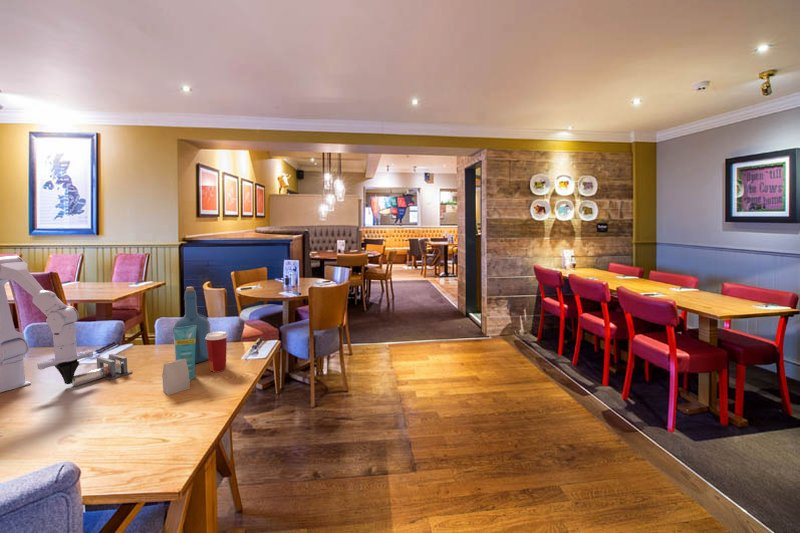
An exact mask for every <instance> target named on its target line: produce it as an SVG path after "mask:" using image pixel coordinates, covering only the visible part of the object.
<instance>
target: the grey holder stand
mask: <svg viewBox="0 0 800 533" xmlns="http://www.w3.org/2000/svg"><path fill="white" fill-rule="evenodd" d="M95 359H96V368H97V369H100V368H103V367H105V365H104V364H106V365H107V366H108V370H109V376H107V377H104V379H105V380H107V381H111V380H112V381H113V380H114V379H115V380H116V379H119V378H121V377H122V376H121V375H118V374H116V372H115V361H113V360H110V359H109V358H106V357H103V356H98V357H96V358H95Z"/></svg>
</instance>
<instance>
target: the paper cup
mask: <svg viewBox="0 0 800 533" xmlns="http://www.w3.org/2000/svg"><path fill="white" fill-rule="evenodd" d="M228 336H229V335H228V334H227V331H221V330H220V331H213V332H211V331H210V333H208V334H207V335H206V337H205V339H206V342H207V351H208V366H209V371H210V372H211V371H213V372H212V373H218V372H217V371H220V372H223V371H225V370H226V369H227V368H226V367H227V346H228V344H227V343H228V342H227V339H228ZM225 368H226V369H225ZM224 369H225V370H224ZM222 370H223V371H222Z"/></svg>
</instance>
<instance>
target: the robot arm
mask: <svg viewBox="0 0 800 533" xmlns="http://www.w3.org/2000/svg"><path fill="white" fill-rule="evenodd" d="M28 266H29V265H28V263H27V262H25V261H24V259H23V258H22V257H20V256H18V255H10V256H0V393H3V392H7V391H10V390H11V391H12V390H14V389H18V388H21V387H24V386H29V385H31V384H32V382H30V381H29V380H26V374H25V373H26V371H25V362H24V361H25V360H24V358H26V354H27V353H29V350H30V344H29V342H28V340H26V337H25V334H24V333H22V332H19V331H18V330H16V328H15V325H14V321H13V316H12V313H11V312H12V311H11V308H10V304H9V299H8V294H7V291H6V287H5V285H6V284H7V283H8V282H9V281H14V282H15V283H16V284H17V285H19V286H20V287H21V288H22V289H23V290H25V291H26V292H27V293H28V294H29V295H30V296H32V300H31V301H32V302H31V303H33V304H34V305H35V306H36V308H38V309H39V310H40V311H41V313H43V314H44V315H45V316H46V317H47V318H46V319H45V321H46V325H48V326H49V328H50V332H51V333H52V339H53V340H52V342H53V351H54V353H53V354H54V357H53V358H50V359H47V360H43V361H40V362H37V363H36V364H37V370H40V371H43V370H45V369H47V368H50V367H55V369H56V370H57V371H58V373H60V375H61V377H62V379H63V382H64V384H65V385H72V381H73V376H75V372H76V371H77V368H78V367H79V365H80V361H79V360H82V359H86V358H93V357H94V352H93V350H85V351H79V352H78V348H77V346H78V345H77V336H76V324H75V323H76V322H78V320H79V318H80V316H79V314H80V313H79V312H78V310H77V309H76V308H75V306H69V305H68V304H65V303H64V302H63V301H62V300H61V299H60V298H58V296H57V293H55V292H53V291H52V290H45V288H43V287H42V285H41V284H40V283H39V282H38V281H37V279H36V278H35V276H33V274H31V272H30V271H29V270H28Z"/></svg>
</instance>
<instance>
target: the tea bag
mask: <svg viewBox="0 0 800 533" xmlns="http://www.w3.org/2000/svg"><path fill="white" fill-rule="evenodd" d="M162 369H163V370H162V391H163V393H164V394H166V395H167V396H169V395H173V394H176V393H179V392H183V391H185V390H189V389H190V387H191V386H190V380H189V370H188V366H187V362H186V359H181V360H177V361H176V360H174V361H171V362H170V361H169V362H167V363H163V368H162Z"/></svg>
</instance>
